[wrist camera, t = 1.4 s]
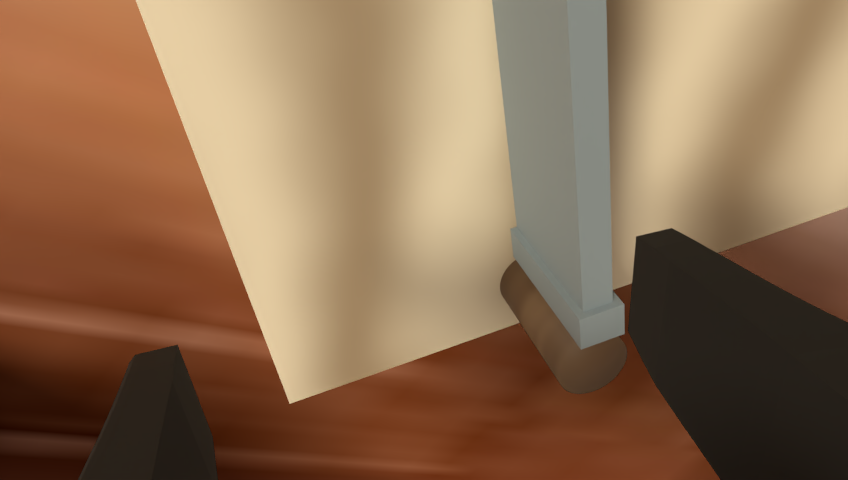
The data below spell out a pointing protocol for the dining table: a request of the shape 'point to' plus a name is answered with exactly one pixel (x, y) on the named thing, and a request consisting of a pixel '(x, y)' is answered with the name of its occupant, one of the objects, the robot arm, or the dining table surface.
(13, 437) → the dining table surface
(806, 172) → the beige base plate
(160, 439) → the robot arm
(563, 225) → the grey flat bar
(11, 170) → the dining table surface
